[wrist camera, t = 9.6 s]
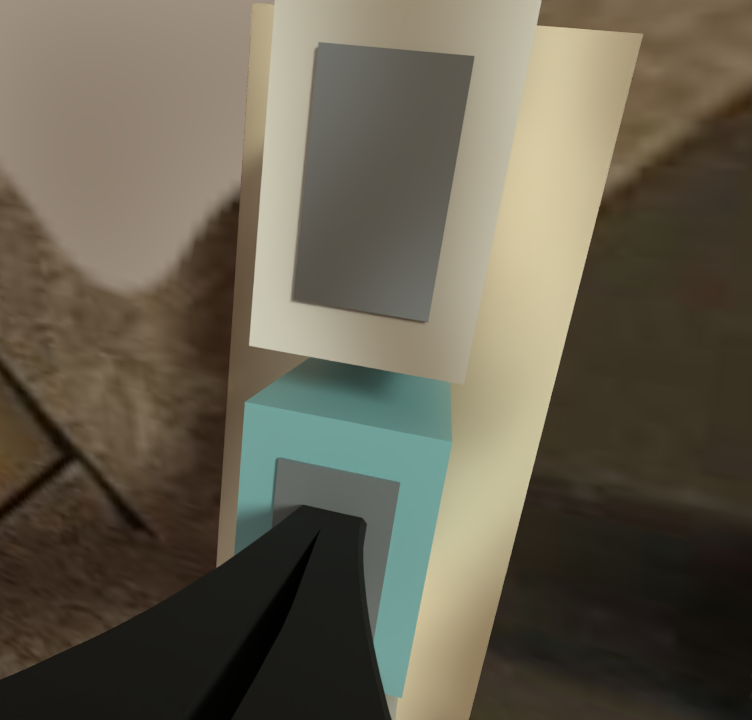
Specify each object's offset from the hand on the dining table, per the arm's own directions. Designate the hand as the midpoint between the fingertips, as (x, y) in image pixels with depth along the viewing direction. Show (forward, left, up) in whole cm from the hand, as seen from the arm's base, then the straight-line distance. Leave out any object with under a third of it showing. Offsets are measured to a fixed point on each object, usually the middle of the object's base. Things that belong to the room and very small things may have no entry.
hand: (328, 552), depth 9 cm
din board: (0, 0, -6) cm, 6 cm away
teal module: (0, 0, -5) cm, 5 cm away
